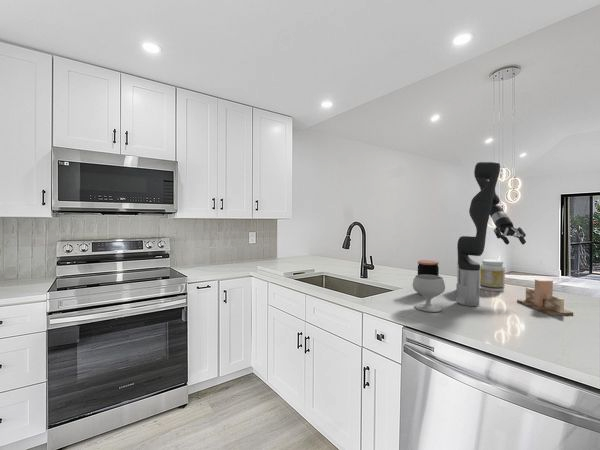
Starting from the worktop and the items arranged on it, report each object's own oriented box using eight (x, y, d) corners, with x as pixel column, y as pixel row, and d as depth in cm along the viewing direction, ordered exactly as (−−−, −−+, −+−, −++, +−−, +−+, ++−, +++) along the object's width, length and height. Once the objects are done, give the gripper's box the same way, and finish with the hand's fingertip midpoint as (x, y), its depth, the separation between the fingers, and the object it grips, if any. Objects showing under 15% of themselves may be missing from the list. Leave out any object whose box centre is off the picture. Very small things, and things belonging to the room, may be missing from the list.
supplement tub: (484, 285, 185) (484, 258, 185) (507, 289, 176) (508, 260, 175) (476, 289, 177) (477, 260, 177) (500, 293, 168) (501, 262, 167)
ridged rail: (517, 301, 151) (517, 287, 151) (536, 301, 151) (537, 287, 151) (550, 315, 131) (551, 299, 131) (573, 315, 131) (573, 298, 131)
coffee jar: (441, 296, 161) (442, 263, 161) (421, 296, 162) (422, 263, 161) (433, 291, 172) (433, 260, 171) (414, 291, 172) (414, 260, 172)
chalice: (451, 310, 139) (451, 277, 138) (432, 315, 132) (432, 281, 131) (424, 302, 151) (425, 272, 150) (406, 307, 144) (406, 275, 143)
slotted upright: (534, 304, 143) (534, 279, 142) (546, 304, 143) (547, 279, 143) (539, 306, 140) (540, 281, 139) (552, 306, 140) (552, 280, 140)
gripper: (492, 216, 166) (506, 239, 155) (517, 216, 166) (533, 238, 155) (486, 225, 172) (499, 248, 161) (510, 225, 172) (525, 247, 161)
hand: (516, 243), depth 158 cm, fingers open, 8 cm apart
